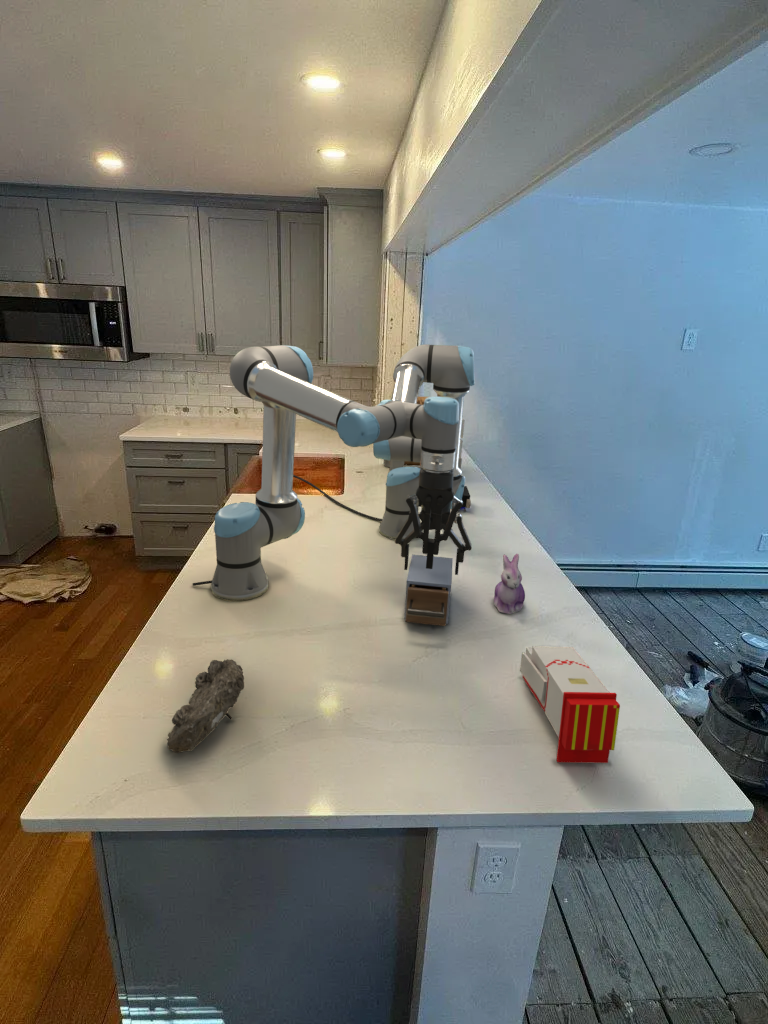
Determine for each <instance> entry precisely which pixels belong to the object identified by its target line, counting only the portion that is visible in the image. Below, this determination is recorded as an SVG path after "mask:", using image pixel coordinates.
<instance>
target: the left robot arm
mask: <svg viewBox="0 0 768 1024" xmlns="http://www.w3.org/2000/svg"><path fill="white" fill-rule="evenodd" d="M229 378H230V381H231V383H232V385H233V387H234V388H235V389H236V390H237V391H238V392H239V393H240V394H241V395H243V396H244V397H247V398H249V399H251V400H253V401H255V402H259V403H262V404H263V411H262V413H263V416H262V417H263V418H262V449H261V450H262V452H261V453H262V454H261V455H262V456H261V488H260V489H259V490H257V492H256V493H255V503H254V502H249V501H240V502H233V503H229V504H227V505H225V506H223V507H221V508H220V509H218V510H217V512H216V513H215V514H214V526H213V532H214V537H215V551H216V552H215V553H216V554H215V555H216V566H215V569H214V573H213V577H212V579H211V580H204V581H197V582H193V583H192V586H193V587H196V586H203V585H209V584H211V585H210V588H211V593H212V594H213V595H214V596H215V597H216V598H219V599H221V600H223V601H229V602H230V601H231V602H242V601H249V600H253V599H255V598H258V597H260V596H262V595H264V594H265V593H266V592H267V591H268V589H269V579H268V577H269V576H268V573H267V572H266V570H265V568H264V566H263V563H262V556H261V555H262V551H261V549H262V548H264V547H266V546H269V545H271V544H273V543H277V542H278V541H282V540H286V539H288V538H290V537H292V536H293V535H295V534H297V533H298V532H300V531H301V529H302V528H303V526H304V524H305V519H306V511H305V508H304V507H303V503H302V501H301V500H300V499H299V496H298V493H296V492H295V490H294V489H293V488H294V487H293V486H294V477H293V475H294V467H295V447H296V445H295V444H296V429H297V427H296V426H297V416H299V417H301V418H304V419H306V420H309V421H310V422H313V423H315V424H317V425H320V426H322V427H323V428H327V429H329V430H331V431H332V432H335V433H337V434H338V437H339V439H340V440H341V441H342V442H343V444H345V445H346V446H347V447H351V448H360V447H361V448H362V447H364V448H365V447H368V446H370V445H373V443H377V442H380V441H384V440H389V439H393V438H396V437H400V436H405V437H411V438H416V439H421V459H420V466H419V467H421V468H420V474H419V487H418V489H417V491H416V493H415V494H413V495H408V496H407V499H406V502H407V504H408V506H409V507H410V511H411V516H412V521H413V527H414V532H415V537H416V538H415V539H418V540H421V541H422V548H421V549H422V550H421V553H422V555H426V556H427V560H426V569H432V567H433V556H438V555H439V554H440V543H441V542H447V541H448V539H449V538H450V537H449V534H450V531H451V529H452V528H453V526H454V520H455V517H456V515H458V512H460V510H462V509H461V507H462V506H463V501H462V500H461V499H457V498H456V497H455V496H454V492H453V489H452V488H453V476H454V472H453V471H452V469H454V465H455V454H456V451H455V450H456V438H457V429H458V422H459V403H458V401H457V400H455V399H453V398H449V397H437V396H427V397H428V398H426V399H425V401H424V405H420V404H414V403H408V402H403V401H399V400H391V399H383V400H381V401H380V402H379V403H377V405H373V406H369V405H368V406H367V405H365V404H362V403H360V402H357V401H355V400H353V399H350V398H348V397H345V396H343V395H340V394H338V393H336V392H333V391H331V390H329V389H326V388H323V387H321V386H318V385H317V384H313V380H314V368H313V363H312V361H311V359H310V357H308V355H307V353H306V352H305V351H304V349H301V348H300V347H298V346H295V345H285V344H279V345H265V346H249V347H246V348H243V349H242V350H240V351H239V352H237V353H236V354H235V355H234V356H233V358H232V360H231V361H230V365H229ZM417 498H418V499H419V501H420V502H421V504H422V505H423V507H424V508H425V519H424V530H423V531H422V532H421V528H420V522H421V521H420V522H419V517H418V512H419V510H418V511H417V506H416V503H417ZM451 501H452V509H451V510H450V515H449V518H448V521H447V524H446V527H445V529H444V530H443V532H442V533H441V531H442V530H441V519H442V509H444V508H445V507H446V506H447V505H448V504H449V503H450V502H451ZM432 509H434V510H437V512H436V525H435V530H434V538H430V530H429V528H430V515H431V510H432ZM452 530H453V529H452Z"/></svg>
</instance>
